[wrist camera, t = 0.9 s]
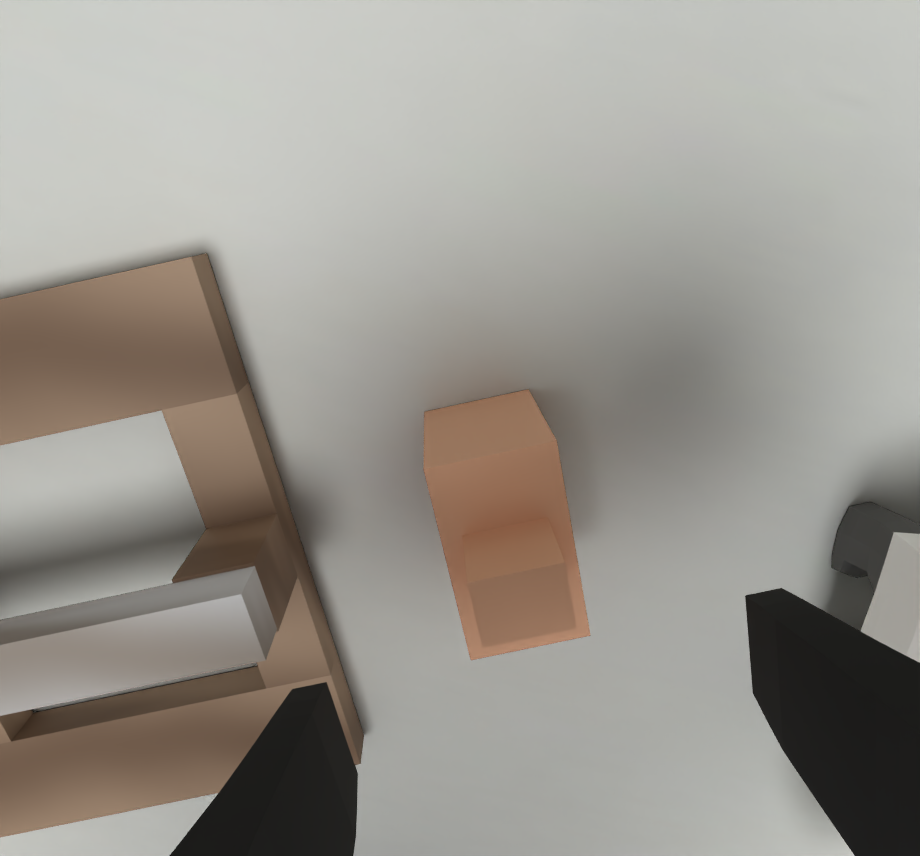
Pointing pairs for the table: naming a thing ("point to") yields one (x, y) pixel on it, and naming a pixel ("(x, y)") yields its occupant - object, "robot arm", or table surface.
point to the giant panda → (884, 572)
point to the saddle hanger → (504, 524)
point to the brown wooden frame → (194, 585)
